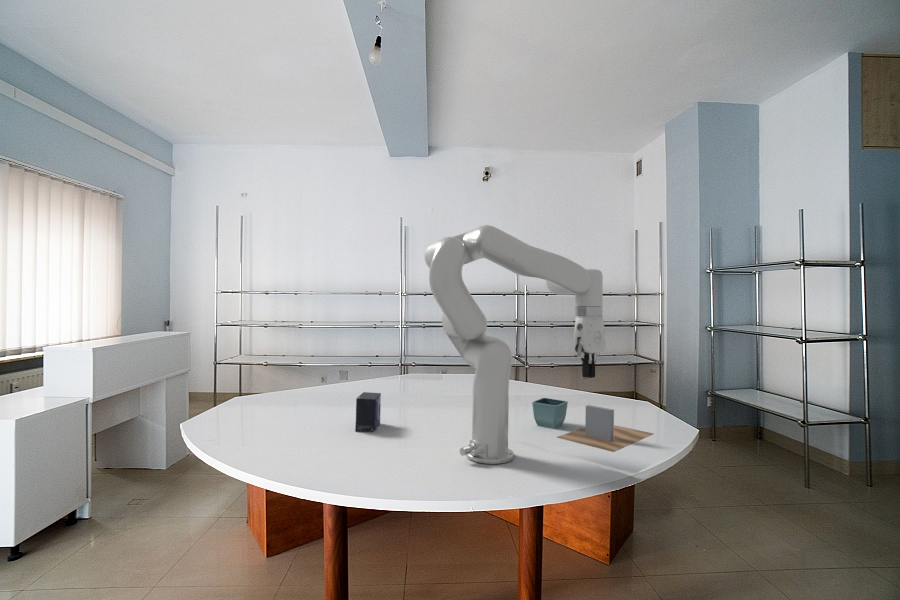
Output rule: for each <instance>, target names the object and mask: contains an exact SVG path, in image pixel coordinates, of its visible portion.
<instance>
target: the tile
mask: <svg viewBox="0 0 900 600" xmlns="http://www.w3.org/2000/svg"><path fill="white" fill-rule="evenodd" d="M614 425H615V409H614V408H609V407H603V406H598V405H592V404H587V405H585V436H589V437H593V438H597V439H601V440H606V441H610V442H611V441H613V440H614Z"/></svg>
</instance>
